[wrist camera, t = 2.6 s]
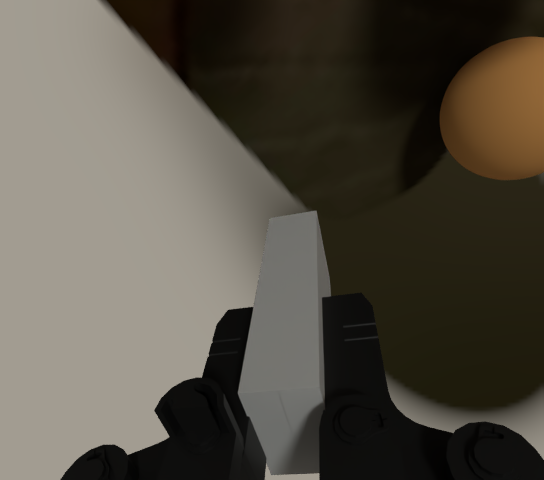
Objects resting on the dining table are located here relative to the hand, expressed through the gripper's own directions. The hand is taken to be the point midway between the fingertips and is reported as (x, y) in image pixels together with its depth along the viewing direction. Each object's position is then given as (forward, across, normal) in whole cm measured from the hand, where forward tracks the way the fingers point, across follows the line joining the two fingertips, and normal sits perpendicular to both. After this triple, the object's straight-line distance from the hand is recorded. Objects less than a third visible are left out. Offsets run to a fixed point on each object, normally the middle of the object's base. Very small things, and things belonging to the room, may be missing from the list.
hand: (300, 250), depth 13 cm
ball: (+8, +10, 0) cm, 12 cm away
